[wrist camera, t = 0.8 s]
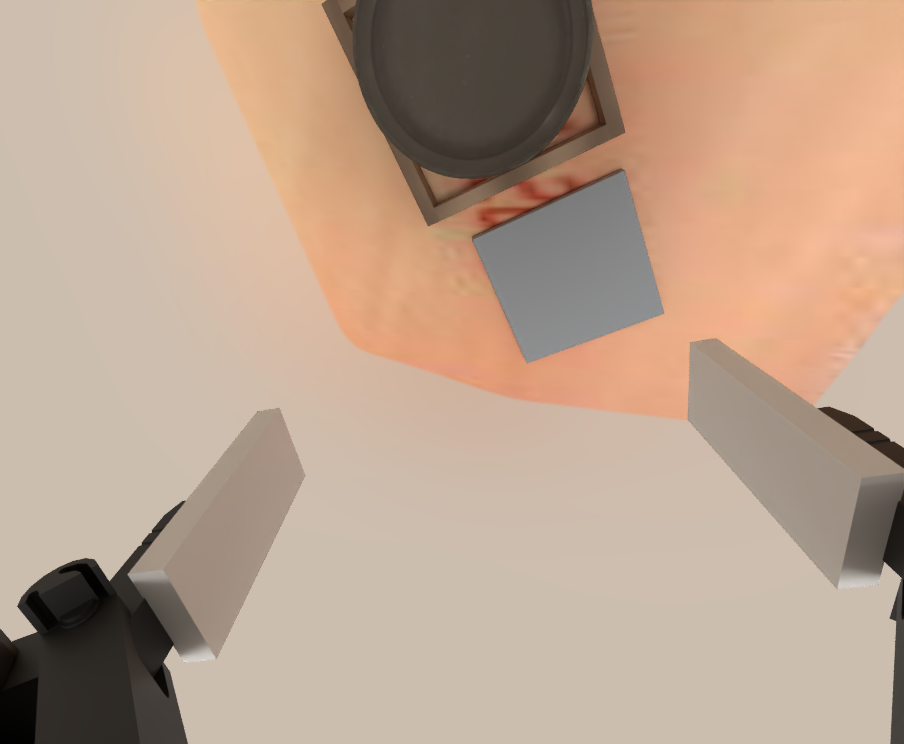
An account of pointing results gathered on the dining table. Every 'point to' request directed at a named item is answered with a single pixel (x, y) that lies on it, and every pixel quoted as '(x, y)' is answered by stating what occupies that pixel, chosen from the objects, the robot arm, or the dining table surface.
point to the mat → (572, 268)
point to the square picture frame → (611, 126)
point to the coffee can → (471, 77)
